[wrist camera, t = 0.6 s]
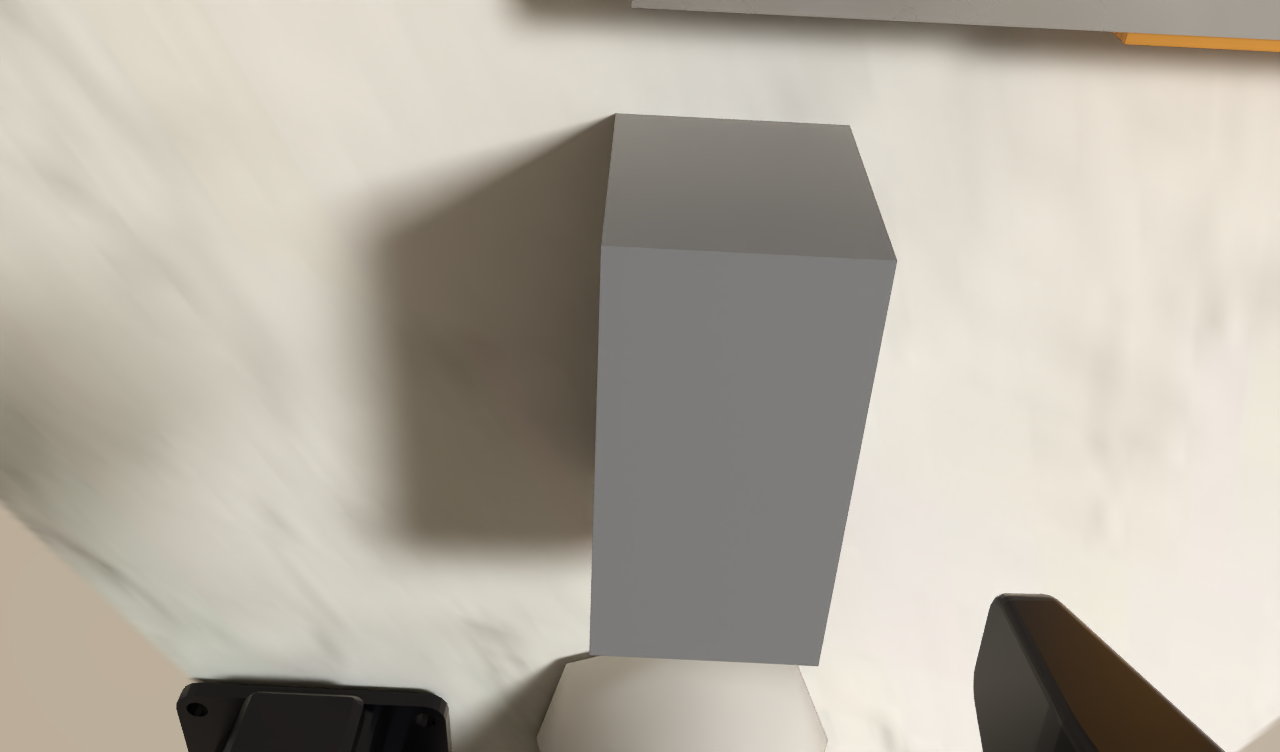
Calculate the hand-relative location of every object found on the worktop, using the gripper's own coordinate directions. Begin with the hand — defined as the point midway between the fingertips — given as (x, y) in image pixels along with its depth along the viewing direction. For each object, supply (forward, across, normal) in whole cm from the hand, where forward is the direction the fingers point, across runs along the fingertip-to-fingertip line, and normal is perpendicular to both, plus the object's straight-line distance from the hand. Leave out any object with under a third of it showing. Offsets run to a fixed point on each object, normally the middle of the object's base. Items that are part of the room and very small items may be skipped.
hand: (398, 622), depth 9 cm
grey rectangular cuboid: (+13, -3, +4) cm, 14 cm away
